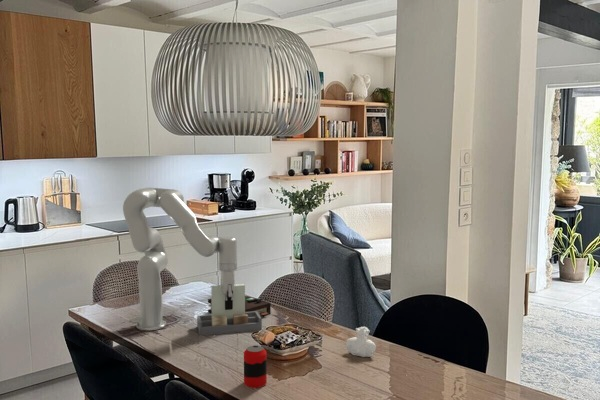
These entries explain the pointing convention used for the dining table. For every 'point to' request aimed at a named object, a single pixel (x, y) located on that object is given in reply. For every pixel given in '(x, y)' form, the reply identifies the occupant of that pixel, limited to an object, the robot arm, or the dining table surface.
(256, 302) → the decorative book
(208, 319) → the rack
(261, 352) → the soda can
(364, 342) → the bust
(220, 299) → the sage board
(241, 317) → the tan wooden block
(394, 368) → the dining table surface
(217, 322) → the birch offcut
